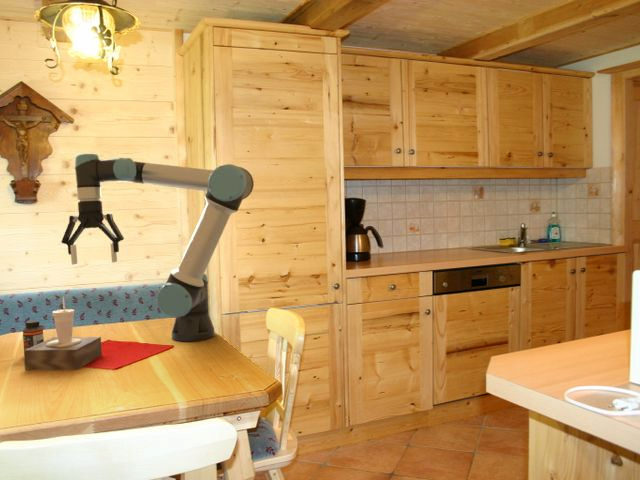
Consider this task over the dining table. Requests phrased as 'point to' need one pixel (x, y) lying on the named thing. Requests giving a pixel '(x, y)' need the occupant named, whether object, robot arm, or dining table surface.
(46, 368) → the stand
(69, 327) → the white drink cup
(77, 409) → the dining table surface
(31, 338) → the supplement bottle
